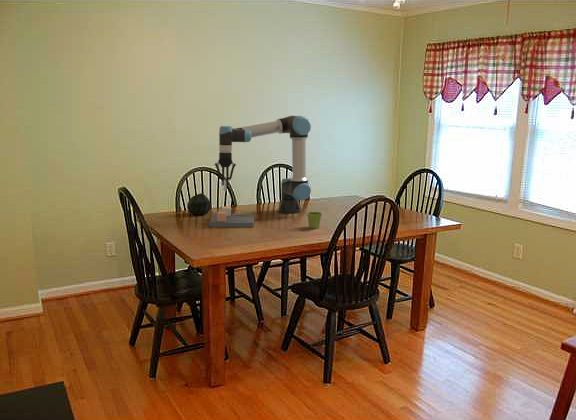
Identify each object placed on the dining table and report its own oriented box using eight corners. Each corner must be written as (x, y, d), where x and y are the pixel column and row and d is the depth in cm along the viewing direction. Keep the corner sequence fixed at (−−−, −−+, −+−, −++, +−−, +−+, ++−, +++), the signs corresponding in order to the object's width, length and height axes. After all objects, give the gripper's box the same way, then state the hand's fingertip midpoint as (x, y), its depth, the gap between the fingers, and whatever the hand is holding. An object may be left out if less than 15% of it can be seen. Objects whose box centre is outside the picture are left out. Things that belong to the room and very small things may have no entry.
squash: (184, 204, 337) (188, 189, 326) (206, 203, 343) (210, 189, 332) (187, 221, 329) (191, 207, 318) (210, 220, 335) (214, 206, 324)
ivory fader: (230, 214, 318) (230, 206, 317) (230, 216, 312) (230, 208, 311) (222, 214, 317) (222, 206, 316) (222, 216, 312) (221, 208, 311)
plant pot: (311, 229, 295) (311, 215, 293) (303, 226, 303) (303, 212, 301) (324, 228, 299) (325, 214, 297) (316, 225, 307) (317, 211, 305)
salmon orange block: (226, 219, 303) (226, 211, 302) (225, 221, 297) (225, 213, 296) (217, 219, 303) (217, 211, 302) (217, 221, 297) (217, 213, 296)
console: (254, 218, 321) (254, 213, 321) (253, 227, 298) (253, 222, 297) (212, 218, 320) (212, 213, 319) (209, 227, 296) (209, 222, 296)
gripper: (236, 151, 307) (236, 190, 312) (215, 151, 307) (214, 189, 311) (235, 152, 300) (235, 192, 305) (213, 152, 299) (213, 191, 304)
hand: (225, 190), depth 308 cm, fingers closed
